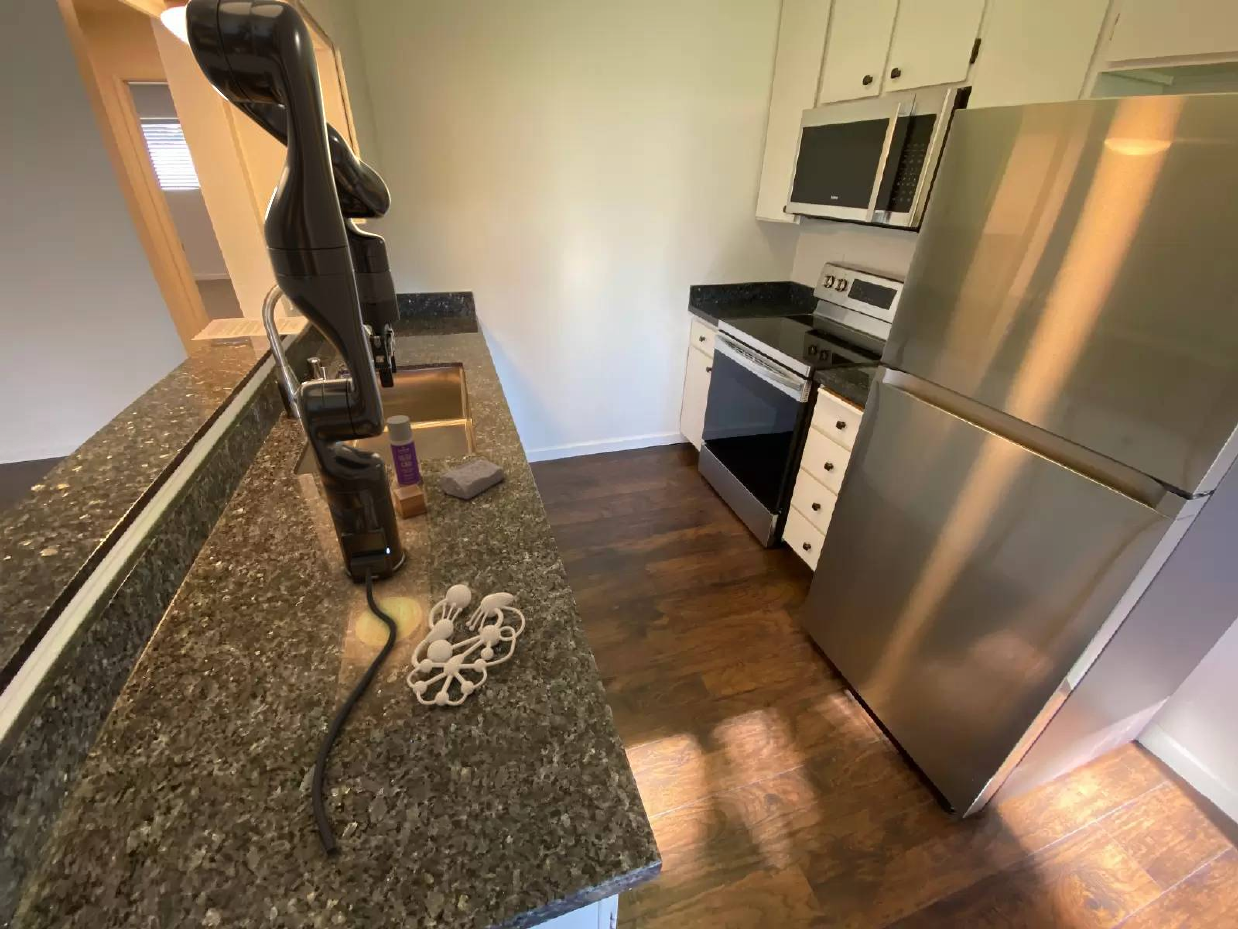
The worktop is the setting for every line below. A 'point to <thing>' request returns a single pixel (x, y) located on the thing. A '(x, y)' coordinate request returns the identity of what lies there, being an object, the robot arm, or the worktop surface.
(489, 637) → the tangled rod sculpture
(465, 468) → the stone block
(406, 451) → the container
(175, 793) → the worktop surface
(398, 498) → the oak cube
